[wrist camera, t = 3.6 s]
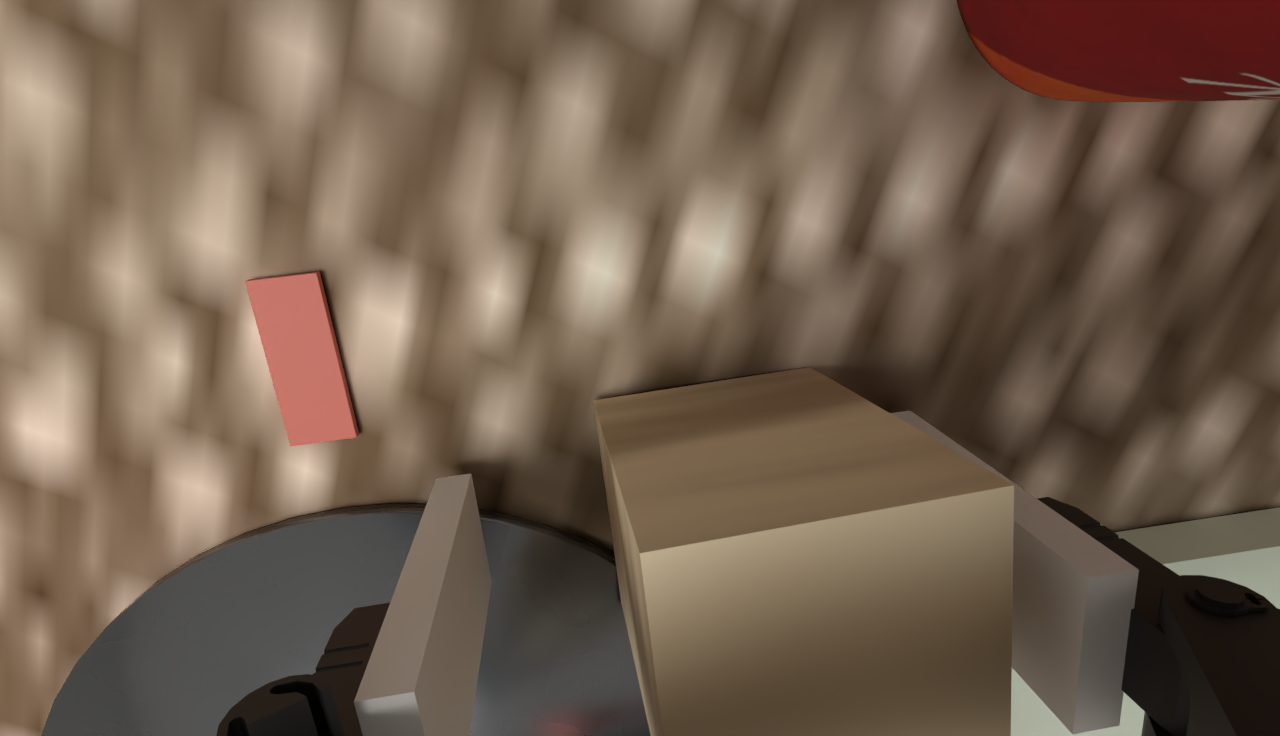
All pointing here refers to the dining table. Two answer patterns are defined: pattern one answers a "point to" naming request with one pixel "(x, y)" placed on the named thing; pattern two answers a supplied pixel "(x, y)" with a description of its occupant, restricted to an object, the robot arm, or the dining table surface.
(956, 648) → the block
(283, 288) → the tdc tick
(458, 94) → the dining table surface
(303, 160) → the dining table surface
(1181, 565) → the tray
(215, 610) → the base plate
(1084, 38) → the coffee cup
